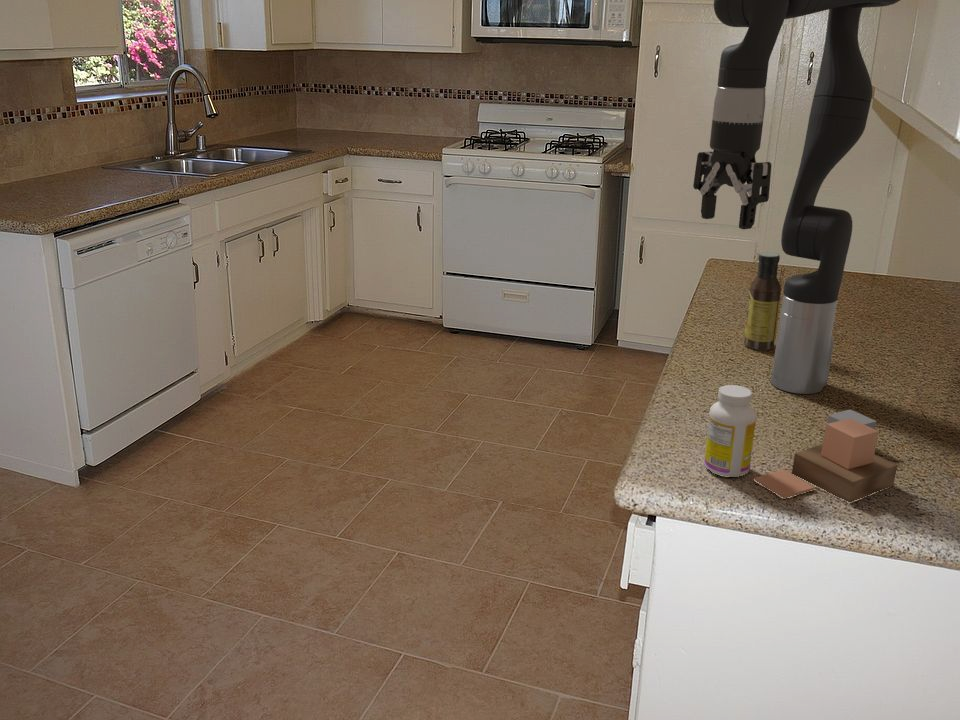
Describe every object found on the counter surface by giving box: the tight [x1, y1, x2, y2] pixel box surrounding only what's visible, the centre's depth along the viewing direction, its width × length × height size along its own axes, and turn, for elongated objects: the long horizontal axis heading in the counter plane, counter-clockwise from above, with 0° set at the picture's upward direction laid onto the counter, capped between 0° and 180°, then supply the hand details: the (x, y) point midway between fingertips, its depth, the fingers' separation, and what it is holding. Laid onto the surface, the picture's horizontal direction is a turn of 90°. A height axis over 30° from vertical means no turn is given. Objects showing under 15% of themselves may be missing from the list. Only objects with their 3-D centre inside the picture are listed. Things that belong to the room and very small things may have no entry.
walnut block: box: [791, 443, 898, 502], centre depth 128 cm, size 10×10×4 cm
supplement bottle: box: [703, 384, 757, 478], centre depth 129 cm, size 7×7×13 cm
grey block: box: [826, 409, 877, 430], centre depth 138 cm, size 5×5×5 cm
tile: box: [753, 469, 816, 498], centre depth 127 cm, size 6×6×1 cm
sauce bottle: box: [743, 251, 782, 352], centre depth 179 cm, size 6×6×20 cm
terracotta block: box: [821, 418, 880, 469], centre depth 126 cm, size 5×5×5 cm
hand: (725, 223), depth 139 cm, fingers open, 8 cm apart
